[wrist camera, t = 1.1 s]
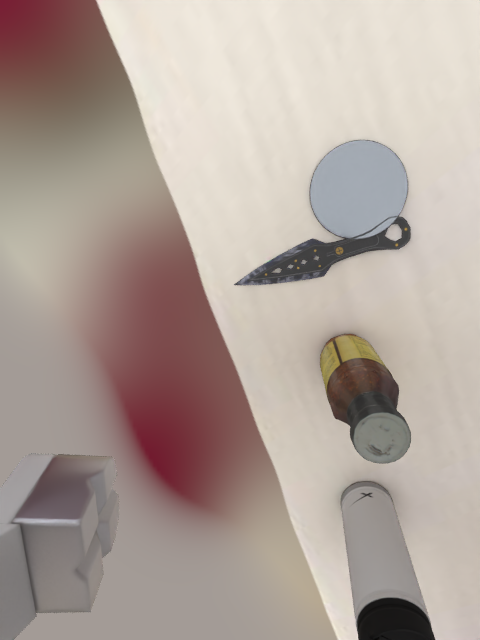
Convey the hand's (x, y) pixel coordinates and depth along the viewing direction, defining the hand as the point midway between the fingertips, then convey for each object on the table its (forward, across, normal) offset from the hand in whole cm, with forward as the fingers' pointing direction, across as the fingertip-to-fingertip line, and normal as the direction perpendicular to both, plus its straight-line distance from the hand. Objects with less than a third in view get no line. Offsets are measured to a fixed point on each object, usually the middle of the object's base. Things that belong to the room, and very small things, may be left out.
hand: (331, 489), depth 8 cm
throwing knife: (+40, +7, -3) cm, 41 cm away
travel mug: (+35, +15, -33) cm, 51 cm away
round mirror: (+40, +11, +4) cm, 42 cm away
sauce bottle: (+38, +12, -14) cm, 42 cm away
